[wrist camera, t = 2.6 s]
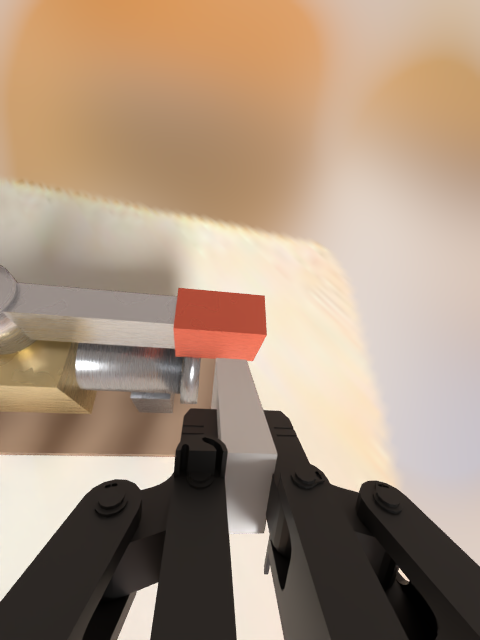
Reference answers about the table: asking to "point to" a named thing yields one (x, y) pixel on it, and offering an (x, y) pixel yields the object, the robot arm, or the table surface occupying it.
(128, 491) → the robot arm
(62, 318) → the valve lever
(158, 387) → the pipe and valve body
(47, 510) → the table surface
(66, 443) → the walnut base board
